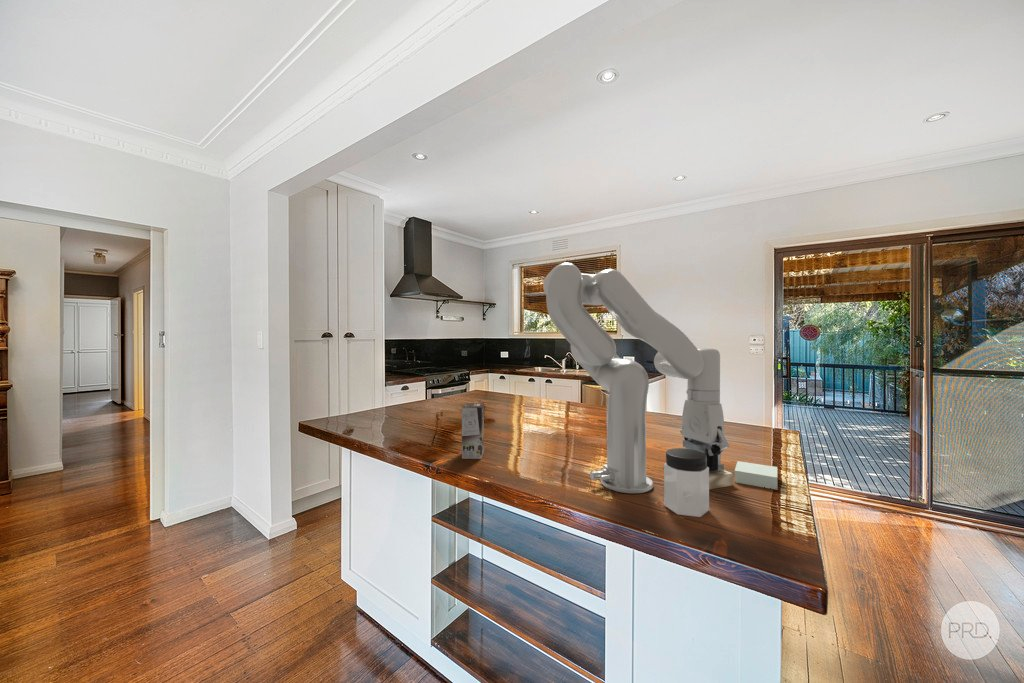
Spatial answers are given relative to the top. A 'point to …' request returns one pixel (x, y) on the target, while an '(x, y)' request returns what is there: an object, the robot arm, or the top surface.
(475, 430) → the coffee box
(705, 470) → the jar
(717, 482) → the stand
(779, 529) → the top surface
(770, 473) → the stand
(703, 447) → the housing
